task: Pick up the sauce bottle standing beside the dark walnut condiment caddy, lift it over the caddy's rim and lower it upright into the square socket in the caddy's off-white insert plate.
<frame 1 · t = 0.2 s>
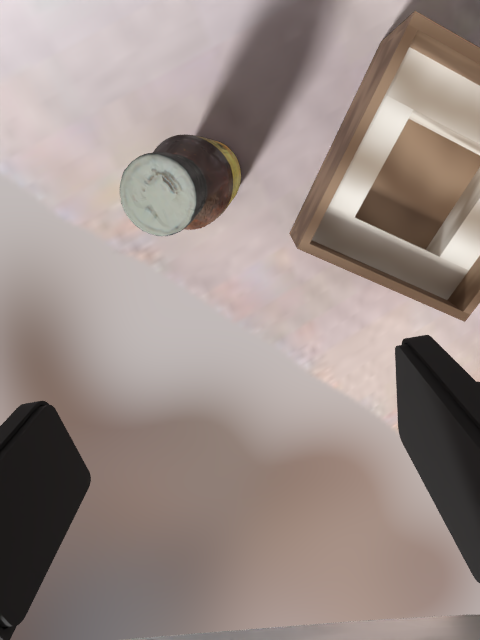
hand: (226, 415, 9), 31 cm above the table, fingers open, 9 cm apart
sauce bottle: (209, 175, 36), on the table
caddy: (409, 185, 35), on the table
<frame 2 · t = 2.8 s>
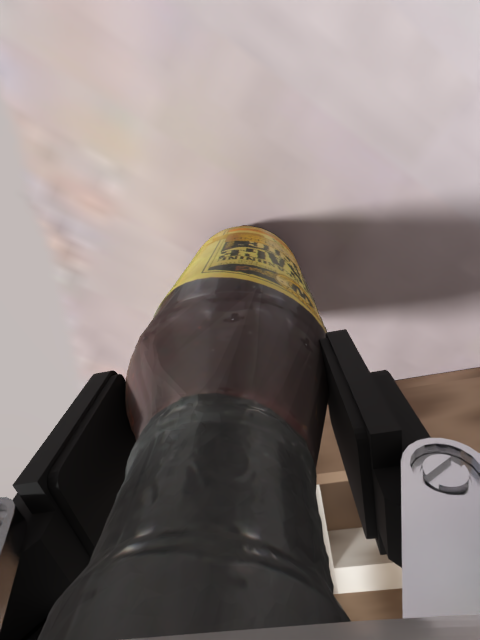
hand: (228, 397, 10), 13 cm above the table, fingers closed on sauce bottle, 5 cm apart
sauce bottle: (242, 269, 22), on the table, touching gripper
caddy: (376, 475, 29), on the table
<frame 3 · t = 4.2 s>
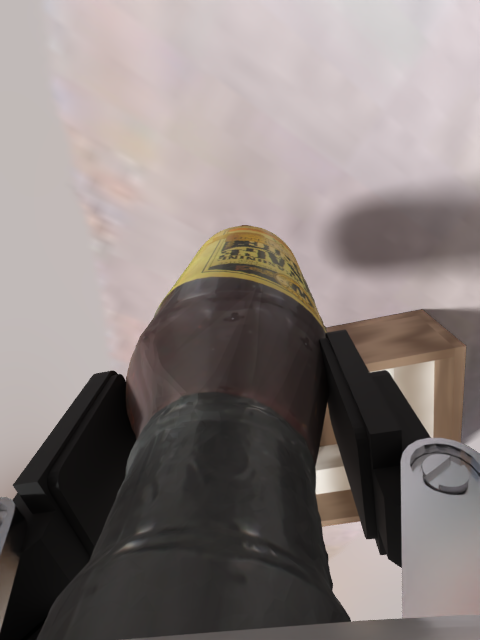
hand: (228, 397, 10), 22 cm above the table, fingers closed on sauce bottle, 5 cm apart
sauce bottle: (242, 269, 22), point 9 cm above the table, touching gripper
caddy: (334, 402, 37), on the table
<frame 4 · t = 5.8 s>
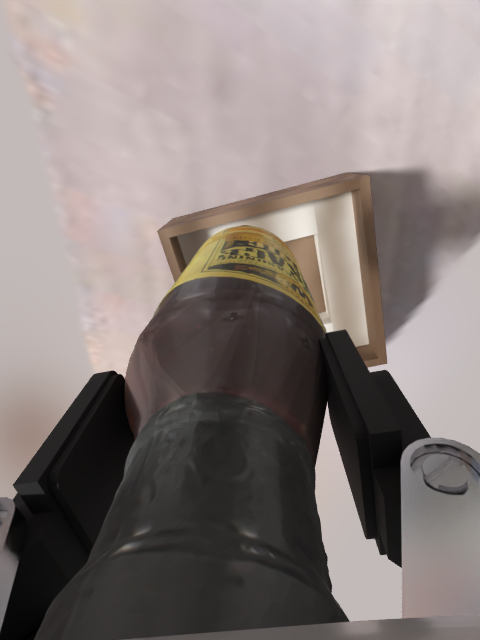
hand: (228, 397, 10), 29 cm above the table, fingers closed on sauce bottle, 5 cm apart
sauce bottle: (242, 269, 22), point 16 cm above the table, touching gripper
caddy: (275, 279, 39), on the table
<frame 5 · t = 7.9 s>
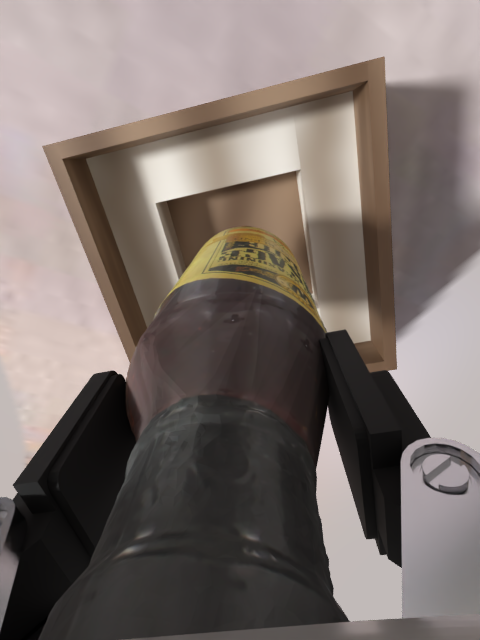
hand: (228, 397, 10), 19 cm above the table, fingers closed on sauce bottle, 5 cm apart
sauce bottle: (243, 270, 22), point 7 cm above the table, touching gripper
caddy: (243, 245, 28), on the table
when the fingers open (15 cm above the table, at t = 9.2 s): sauce bottle drops 1 cm, resting on caddy.
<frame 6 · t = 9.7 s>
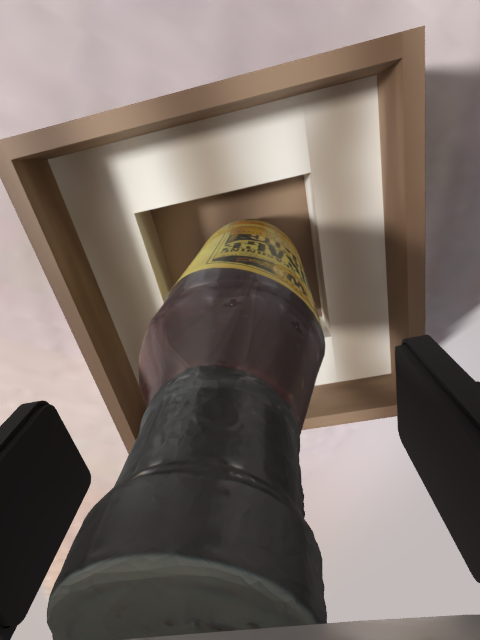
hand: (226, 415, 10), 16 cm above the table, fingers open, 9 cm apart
sauce bottle: (247, 261, 23), point 1 cm above the table, touching caddy
caddy: (241, 260, 24), on the table
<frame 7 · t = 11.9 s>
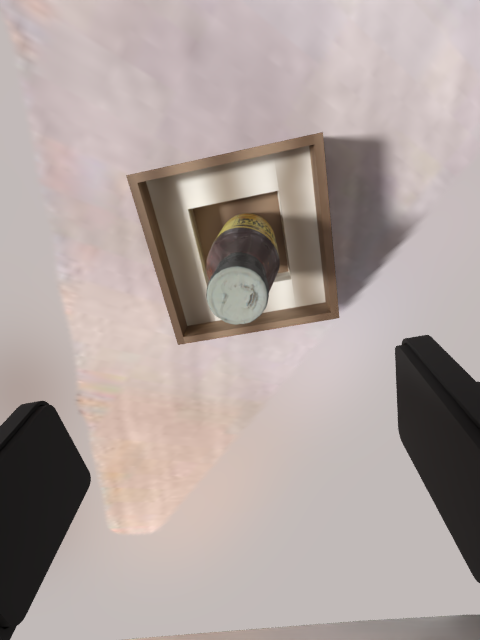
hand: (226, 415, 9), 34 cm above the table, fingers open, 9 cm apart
sauce bottle: (246, 237, 41), point 1 cm above the table, touching caddy
caddy: (242, 238, 41), on the table
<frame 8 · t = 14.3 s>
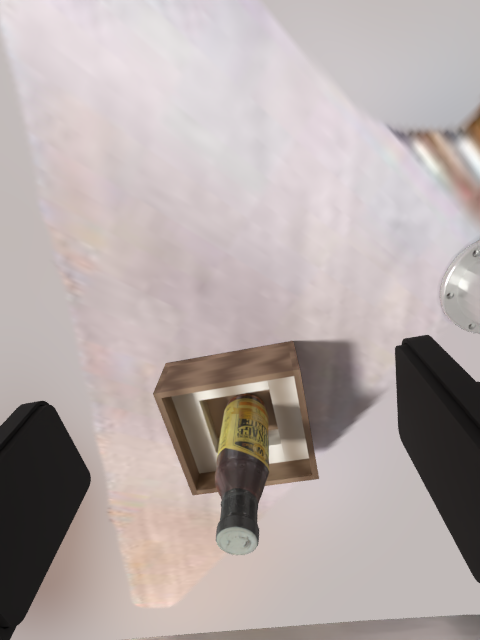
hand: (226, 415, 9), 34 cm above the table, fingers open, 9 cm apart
sauce bottle: (245, 406, 51), point 1 cm above the table, touching caddy
caddy: (242, 404, 52), on the table
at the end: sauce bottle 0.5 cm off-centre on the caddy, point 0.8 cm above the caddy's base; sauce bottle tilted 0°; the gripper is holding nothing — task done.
